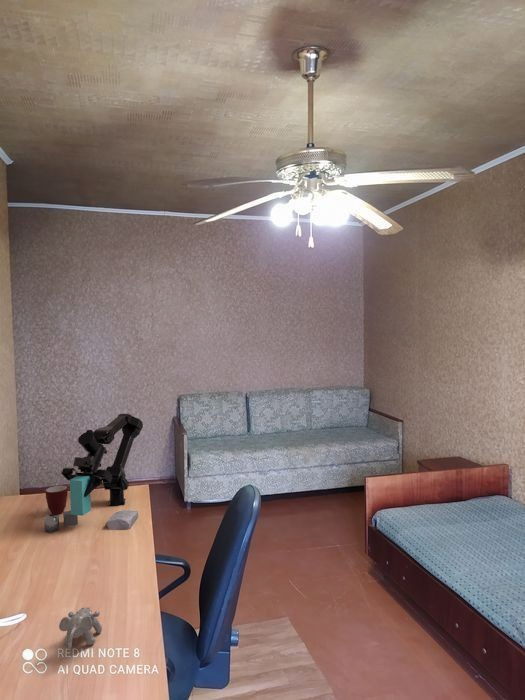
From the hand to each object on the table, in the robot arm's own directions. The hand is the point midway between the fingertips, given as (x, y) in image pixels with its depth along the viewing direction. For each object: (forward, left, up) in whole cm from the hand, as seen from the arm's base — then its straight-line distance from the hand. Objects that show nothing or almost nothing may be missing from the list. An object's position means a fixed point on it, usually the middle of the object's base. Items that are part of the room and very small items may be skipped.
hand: (78, 496), depth 182 cm
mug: (-20, -11, -13) cm, 26 cm away
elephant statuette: (+71, +9, -13) cm, 72 cm away
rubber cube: (-6, -4, -12) cm, 15 cm away
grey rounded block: (-2, -10, -12) cm, 16 cm away
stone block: (-1, +15, -13) cm, 20 cm away
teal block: (-1, +1, -7) cm, 7 cm away
